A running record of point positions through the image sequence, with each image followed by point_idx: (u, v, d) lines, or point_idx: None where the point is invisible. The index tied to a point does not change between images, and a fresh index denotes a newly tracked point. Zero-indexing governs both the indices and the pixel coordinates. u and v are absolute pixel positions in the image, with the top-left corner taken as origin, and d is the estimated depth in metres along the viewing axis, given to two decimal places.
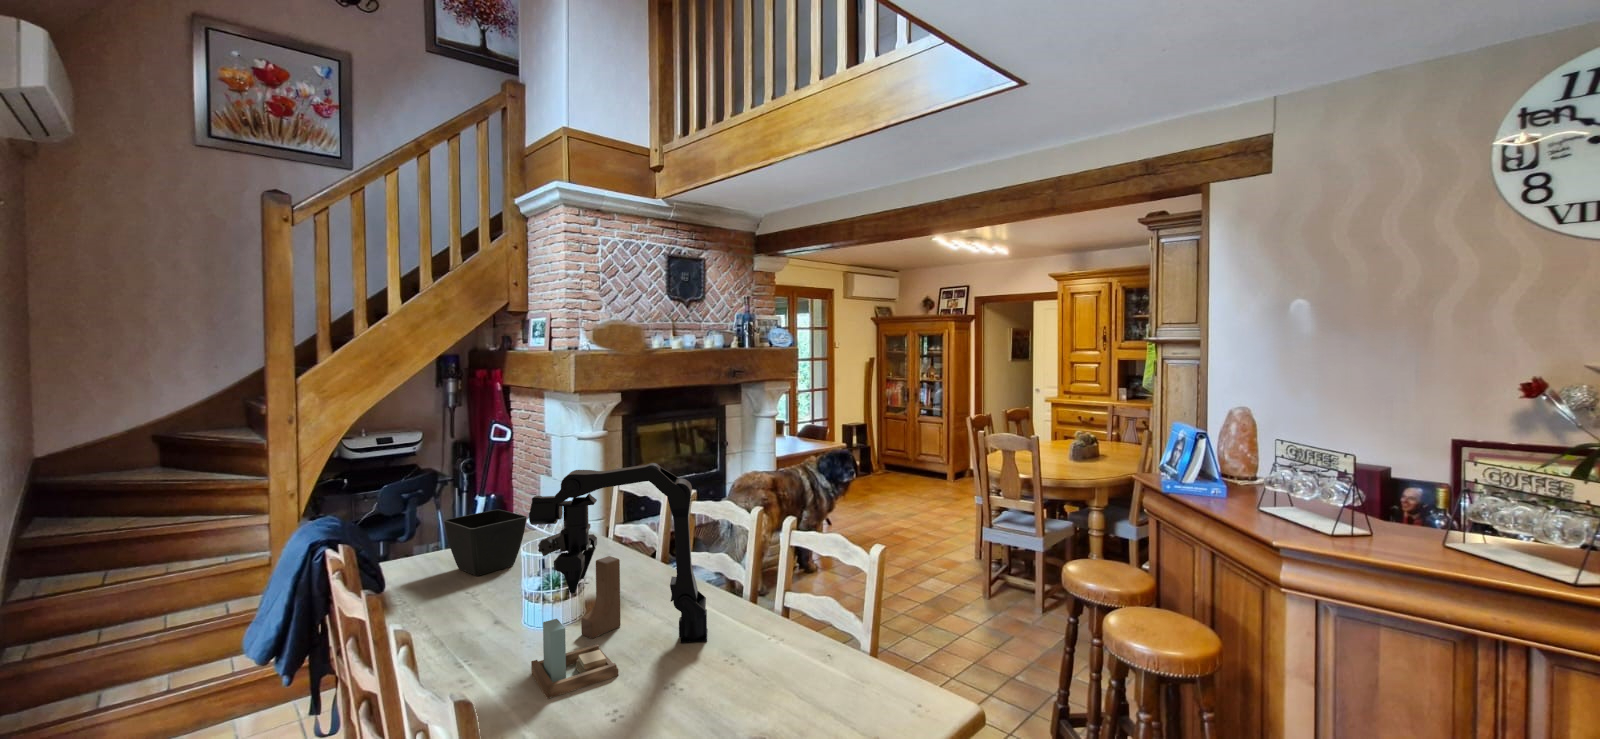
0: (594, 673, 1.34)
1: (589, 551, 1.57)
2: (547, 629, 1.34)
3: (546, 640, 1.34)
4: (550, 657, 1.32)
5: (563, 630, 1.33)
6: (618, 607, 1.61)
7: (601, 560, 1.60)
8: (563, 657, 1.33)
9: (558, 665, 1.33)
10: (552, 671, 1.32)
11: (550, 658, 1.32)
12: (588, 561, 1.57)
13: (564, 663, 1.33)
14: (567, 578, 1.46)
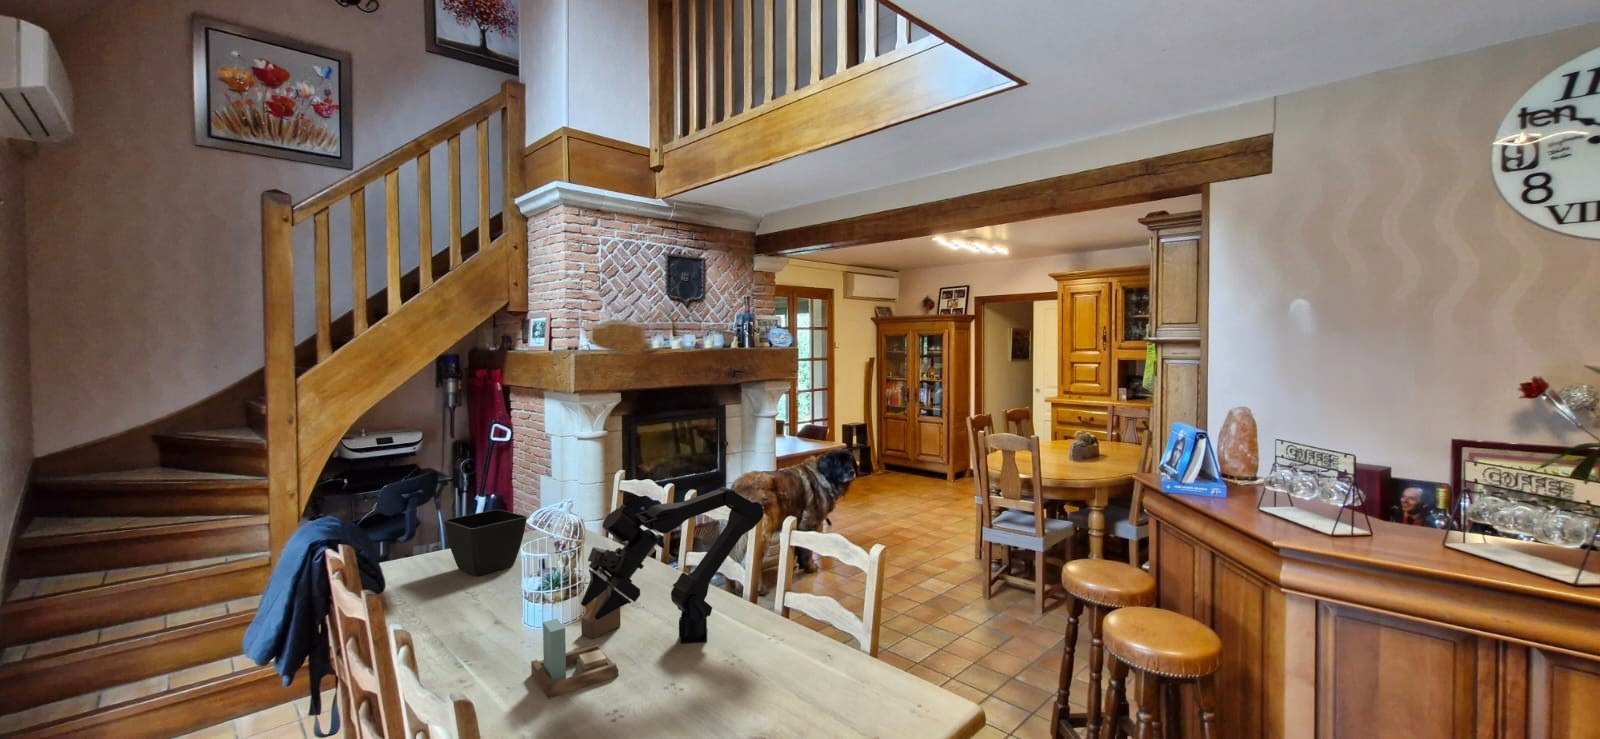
0: (594, 673, 1.34)
1: (607, 583, 1.47)
2: (547, 629, 1.34)
3: (546, 640, 1.34)
4: (550, 657, 1.32)
5: (563, 630, 1.33)
6: None
7: None
8: (563, 657, 1.33)
9: (558, 665, 1.33)
10: (552, 671, 1.32)
11: (550, 658, 1.32)
12: (600, 592, 1.46)
13: (564, 663, 1.33)
14: (607, 602, 1.36)
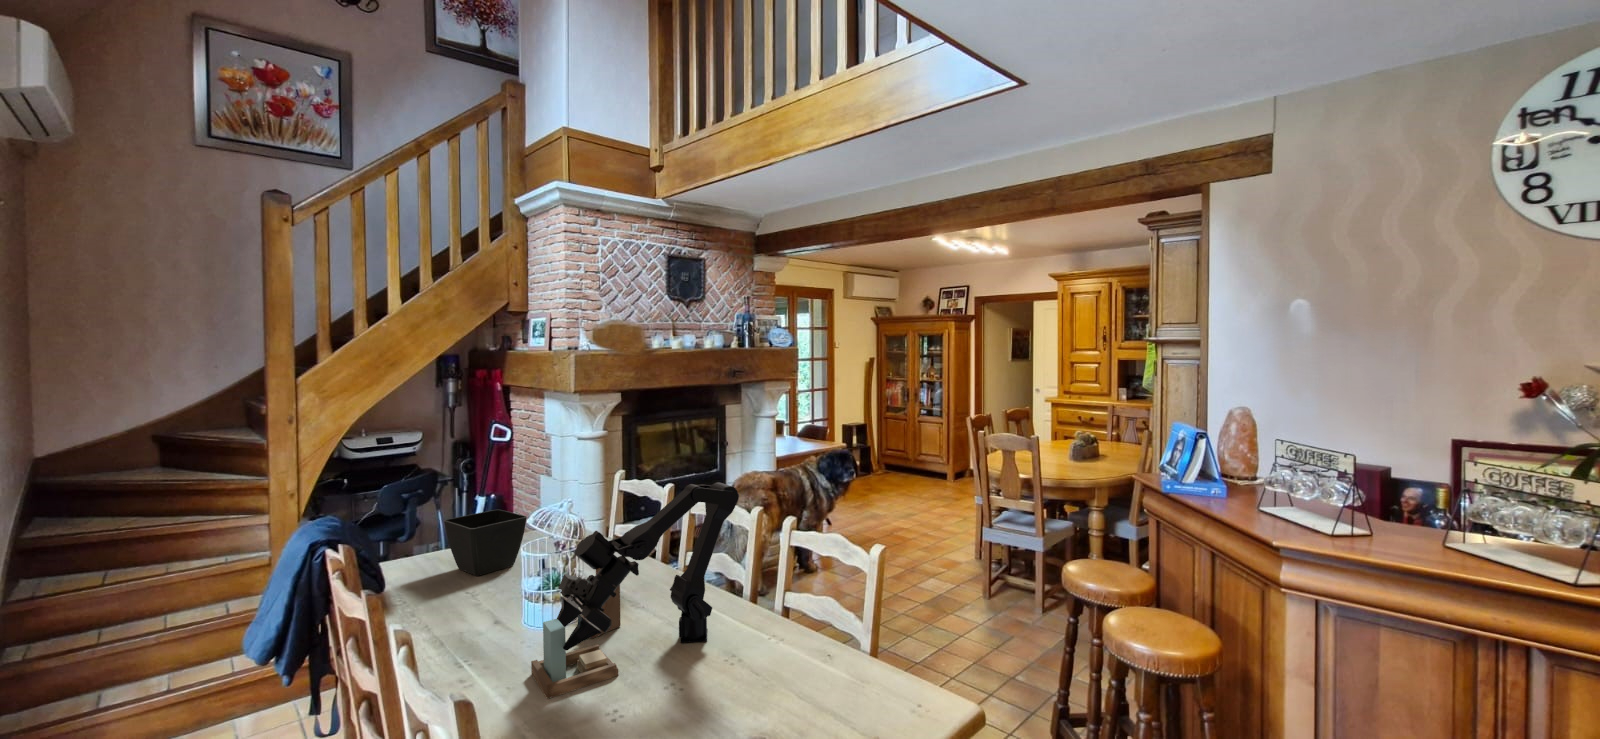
0: (594, 673, 1.34)
1: (578, 611, 1.43)
2: (547, 629, 1.34)
3: (546, 640, 1.34)
4: (550, 657, 1.32)
5: (563, 630, 1.33)
6: (618, 607, 1.61)
7: None
8: (563, 657, 1.33)
9: (558, 665, 1.33)
10: (552, 671, 1.32)
11: (550, 658, 1.32)
12: (571, 620, 1.42)
13: (564, 663, 1.33)
14: (577, 632, 1.32)
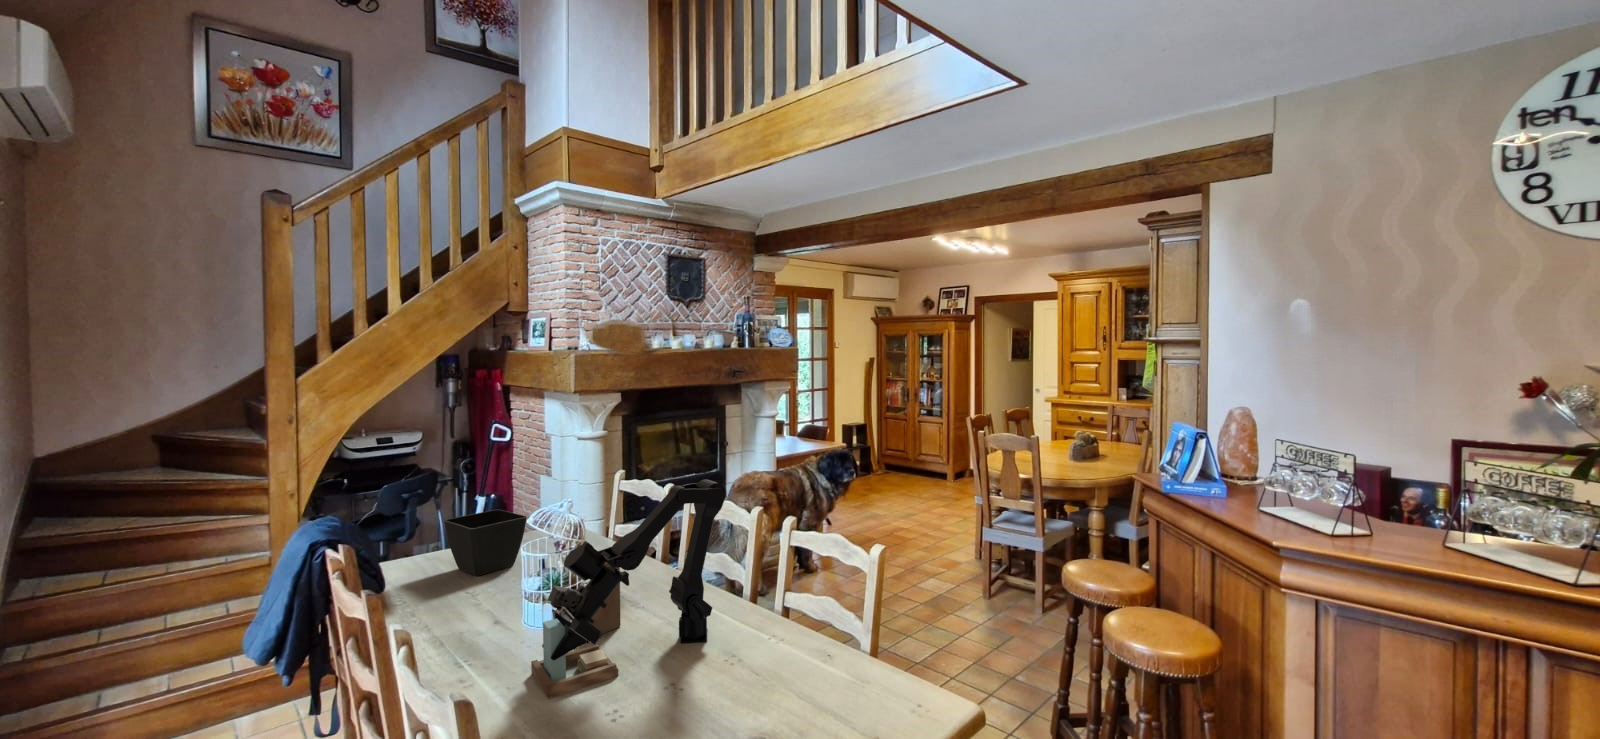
0: (594, 673, 1.34)
1: (570, 624, 1.41)
2: (547, 629, 1.34)
3: (546, 640, 1.34)
4: None
5: (563, 630, 1.33)
6: (618, 607, 1.61)
7: None
8: (563, 657, 1.33)
9: (558, 665, 1.33)
10: (552, 671, 1.32)
11: (550, 658, 1.32)
12: None
13: (564, 663, 1.33)
14: (564, 642, 1.32)
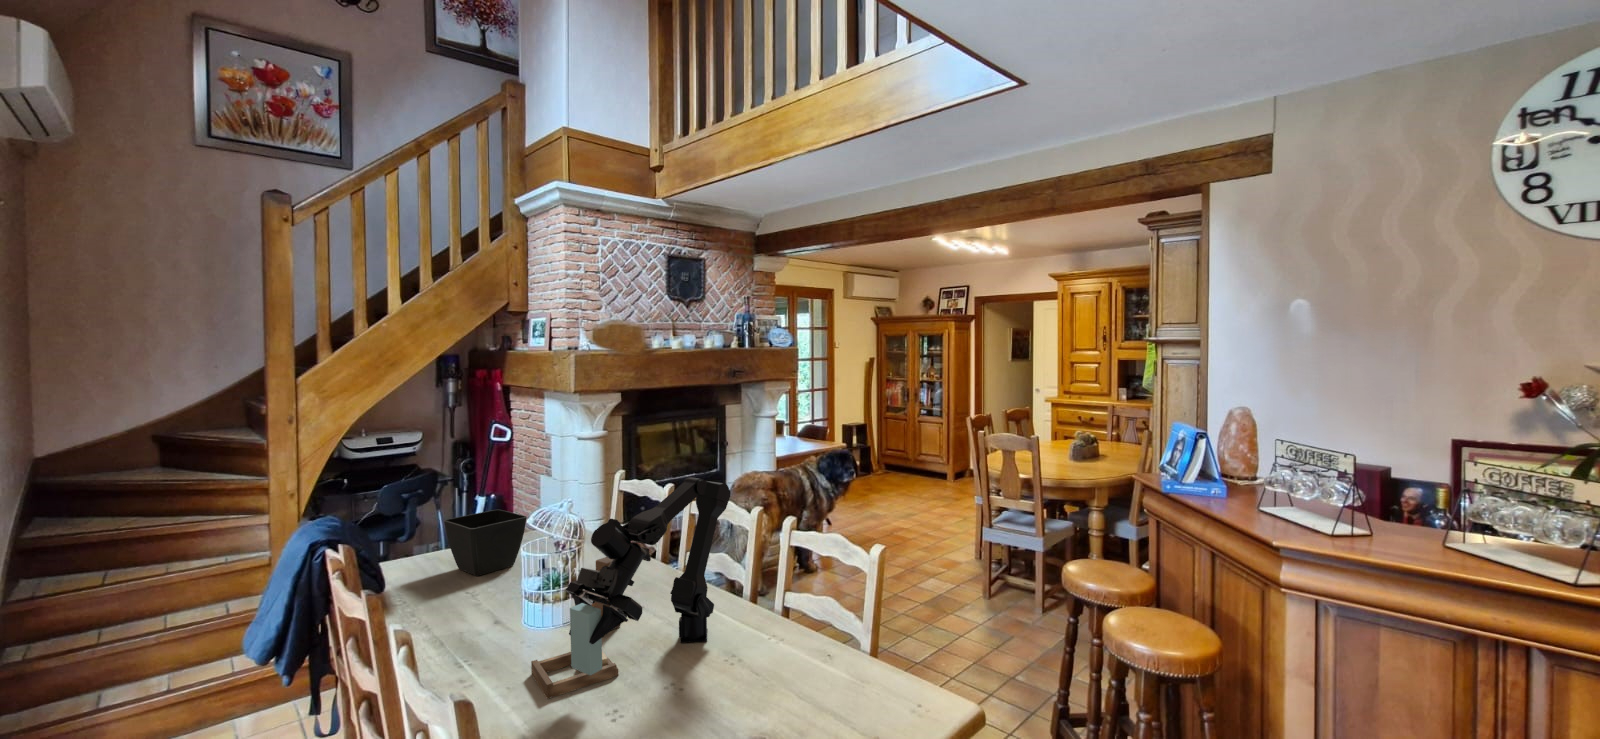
0: (594, 673, 1.34)
1: None
2: (580, 613, 1.26)
3: (578, 625, 1.26)
4: (587, 642, 1.25)
5: (599, 612, 1.27)
6: None
7: (601, 560, 1.60)
8: (599, 640, 1.27)
9: (595, 649, 1.26)
10: (590, 656, 1.25)
11: (587, 643, 1.25)
12: None
13: (600, 646, 1.27)
14: (604, 623, 1.26)
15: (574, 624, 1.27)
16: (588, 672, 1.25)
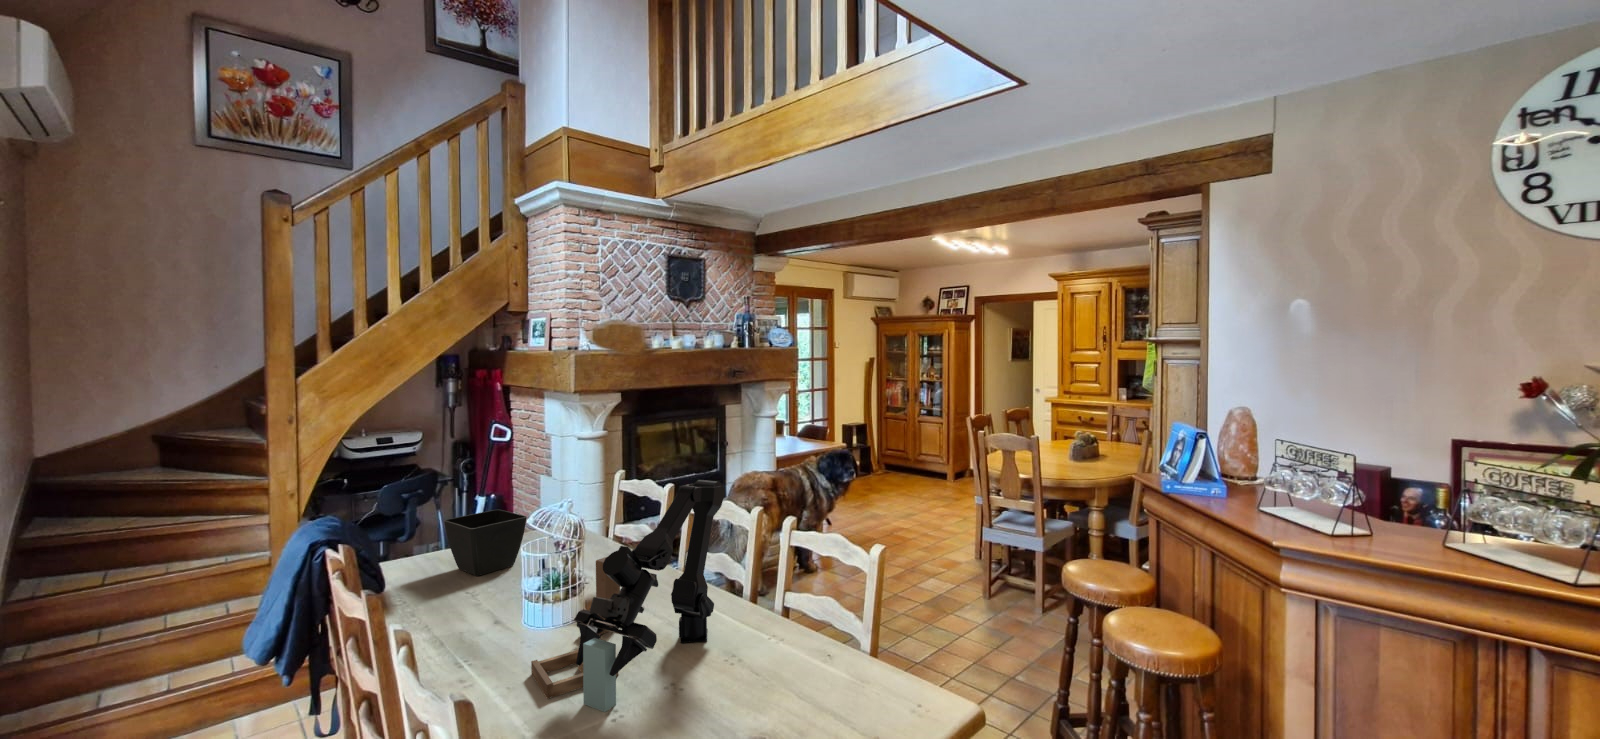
0: None
1: (597, 635, 1.33)
2: (595, 649, 1.25)
3: (592, 661, 1.25)
4: (602, 678, 1.24)
5: (614, 646, 1.26)
6: None
7: (601, 560, 1.60)
8: (614, 675, 1.26)
9: (610, 684, 1.25)
10: (605, 692, 1.24)
11: (602, 679, 1.24)
12: None
13: (614, 682, 1.26)
14: (624, 654, 1.24)
15: (588, 660, 1.26)
16: (603, 708, 1.24)
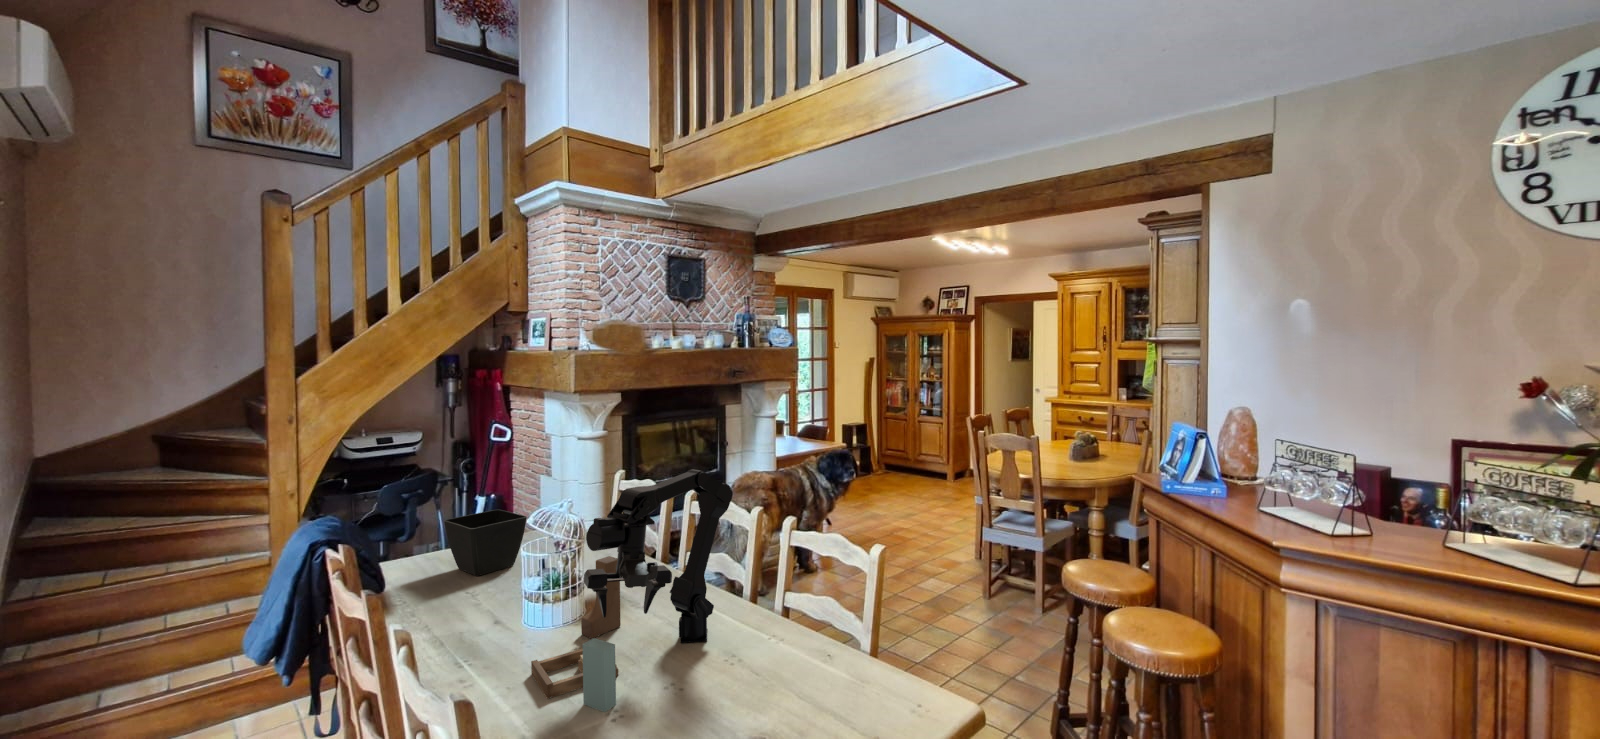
0: None
1: None
2: (594, 649, 1.24)
3: (591, 662, 1.25)
4: (602, 678, 1.24)
5: (613, 647, 1.26)
6: (618, 607, 1.61)
7: (601, 560, 1.60)
8: (613, 675, 1.26)
9: (609, 684, 1.25)
10: (605, 692, 1.24)
11: (602, 679, 1.24)
12: None
13: (614, 682, 1.26)
14: None
15: (587, 660, 1.25)
16: (603, 709, 1.24)
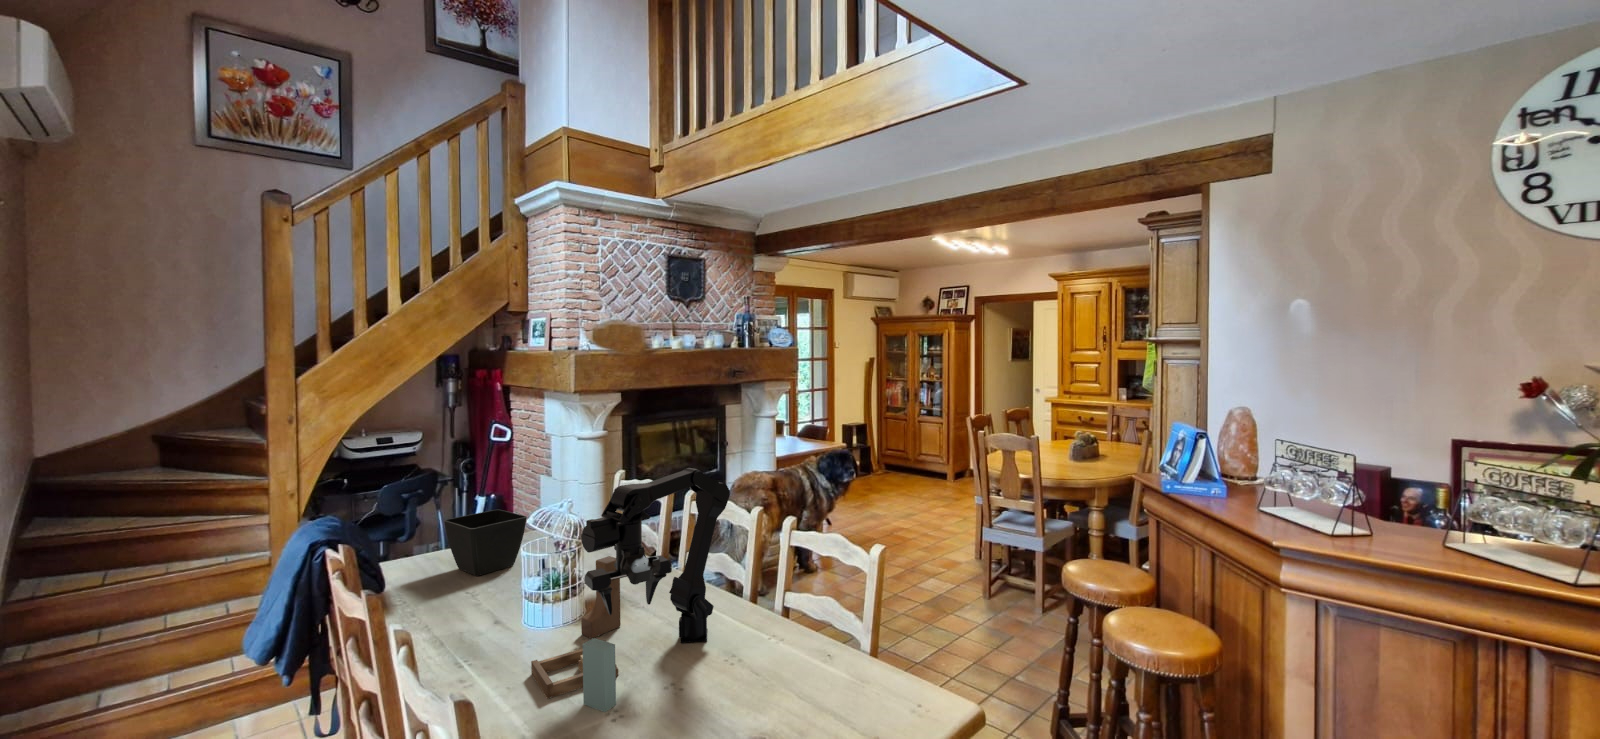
0: None
1: None
2: (594, 649, 1.24)
3: (591, 662, 1.25)
4: (602, 678, 1.24)
5: (613, 647, 1.26)
6: (618, 607, 1.61)
7: (601, 560, 1.60)
8: (613, 675, 1.26)
9: (609, 684, 1.25)
10: (605, 692, 1.24)
11: (602, 679, 1.24)
12: None
13: (614, 682, 1.26)
14: None
15: (587, 660, 1.25)
16: (603, 709, 1.24)
